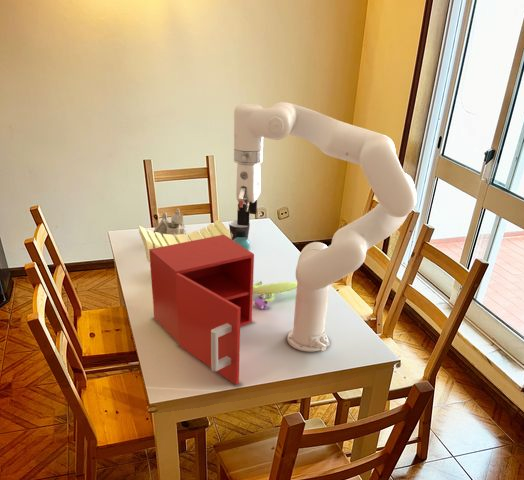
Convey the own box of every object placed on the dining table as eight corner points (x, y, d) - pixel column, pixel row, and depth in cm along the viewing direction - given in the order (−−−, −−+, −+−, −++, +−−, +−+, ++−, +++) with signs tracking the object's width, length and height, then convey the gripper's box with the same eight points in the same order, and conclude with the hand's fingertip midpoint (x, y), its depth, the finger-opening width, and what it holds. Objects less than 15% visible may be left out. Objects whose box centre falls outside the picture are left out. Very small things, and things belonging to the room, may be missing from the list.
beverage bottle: (247, 286, 201) (248, 234, 191) (229, 283, 202) (229, 231, 192) (251, 278, 207) (252, 227, 196) (233, 276, 208) (234, 225, 197)
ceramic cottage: (157, 236, 238) (156, 202, 229) (194, 241, 236) (194, 208, 227) (144, 251, 225) (141, 217, 216) (182, 258, 223) (182, 223, 214)
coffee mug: (248, 250, 229) (249, 227, 224) (228, 249, 229) (228, 226, 224) (249, 240, 239) (250, 217, 234) (229, 239, 239) (230, 217, 233)
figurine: (321, 315, 185) (323, 300, 182) (242, 309, 186) (242, 294, 183) (320, 291, 201) (322, 277, 198) (247, 285, 202) (248, 271, 199)
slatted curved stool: (150, 289, 196) (147, 242, 186) (142, 271, 208) (138, 225, 199) (231, 279, 206) (231, 233, 196) (218, 262, 218) (218, 218, 208)
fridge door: (219, 393, 147) (219, 316, 134) (162, 352, 162) (157, 279, 149) (238, 383, 151) (240, 307, 138) (181, 344, 166) (178, 272, 153)
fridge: (251, 323, 179) (254, 254, 166) (179, 344, 167) (175, 271, 154) (223, 300, 192) (223, 234, 178) (154, 318, 179) (149, 249, 166)
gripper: (255, 165, 136) (253, 231, 146) (268, 149, 151) (266, 210, 160) (226, 162, 138) (226, 228, 147) (241, 147, 152) (241, 208, 161)
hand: (247, 219), depth 153 cm, fingers open, 9 cm apart
